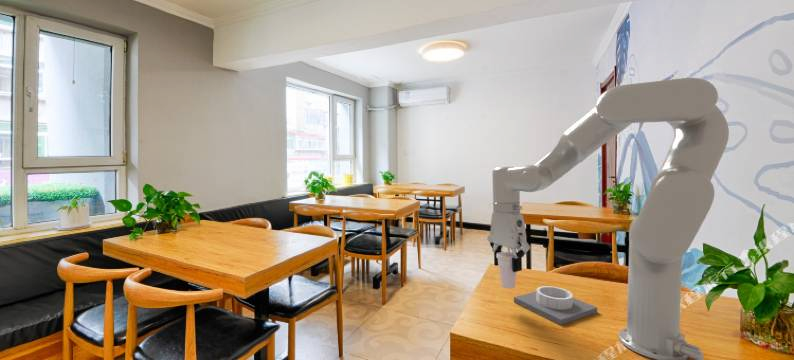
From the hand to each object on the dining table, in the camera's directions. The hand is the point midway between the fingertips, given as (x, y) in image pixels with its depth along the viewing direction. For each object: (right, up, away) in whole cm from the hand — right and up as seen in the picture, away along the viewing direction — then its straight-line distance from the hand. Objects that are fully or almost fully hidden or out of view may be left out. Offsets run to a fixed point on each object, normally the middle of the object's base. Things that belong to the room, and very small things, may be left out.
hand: (507, 267), depth 93 cm
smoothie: (0, -6, 0) cm, 6 cm away
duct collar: (+14, -12, +1) cm, 19 cm away
